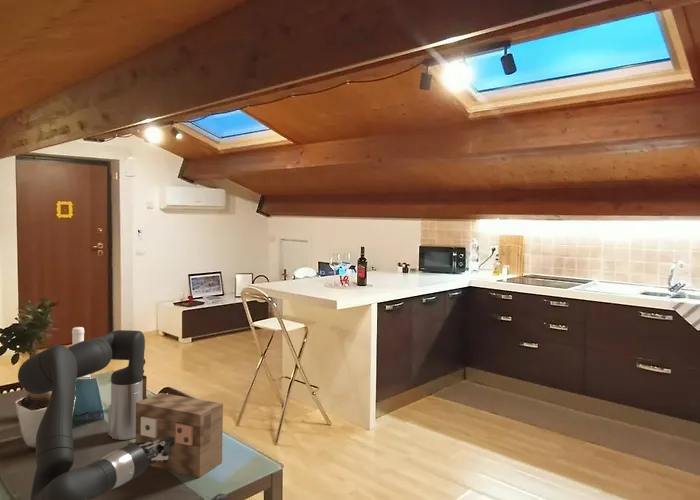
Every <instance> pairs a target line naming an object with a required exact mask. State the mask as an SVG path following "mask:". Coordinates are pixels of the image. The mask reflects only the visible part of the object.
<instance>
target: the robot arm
mask: <svg viewBox="0 0 700 500" xmlns="http://www.w3.org/2000/svg"><path fill="white" fill-rule="evenodd" d="M145 347H146V339H145V335H144V333H143V332H142V331H141V330H130V329H128V330H126V329H124V330H123V329H119V330H118V329H117V330H113V331H111V332H108V333H106V334H104V335H103V336H100V337H95V338H89V339H86V340H85V339H84V341H82V342H79V343H77V344H74V345H71V346H69V347H67V346H66V345H63V344H55V345H53V346H50V347H47V348H46V349H44V350H42V351H39V352H38V353H36V354H35V355H32V356H31V357H29V358H28V359H26V360H25V361H24V362H23V363H22V364H21V365H20V366H19V369H18V372H17V379H18V380H17V381H18V384H19V385H20V387H21V388H22V389H23V390H25V391H26V392H28V393H30V394H31V395H32V394H34V395H44V394H48V393H49V392H51V395H50V398H49V400H48V404H47V406H46V409H45V411H44V414H43V416H42V418H41V420H40V422H39V425H38V427H37V428H38V429H37V432H36V436H35V464H36V469H35V473H34V476H33V480H32V481H33V483H32V488H31V493H30V499H29V500H94V499H96V498H98V497H100V496H102V495H104V494H106V493H107V492H109V491H112V490H113V489H116V488H118V487H121V486H123V485H125V484H126V483H128V482H130V481H132V480H133V479H135V478H137V477H139V476H140V475H142V474H143V473H144V472H145V471H146V469H147V468H148V466H149V465H150V464H153V463H155V462H156V461H157V460H161V461H163V463H167V462H168V459H169V448H170V447H172V446H173V445H174V437H171V436H168V437H166V438H164V439H162V440H156V441H154V442H153V440H147V441H141V442H136V441H134V442H130V443H127V445H125V446H123V447H120V448H119V449H116V450H114V451H112V452H110V453H108V454H106V455H105V456H103V457H101V458H99V459H98V460H95V461H94V462H92V463H90V464H87V465H85V466H84V467H79V468H74V469H71V468H72V467H73V465H74V461H75V452H74V451H75V449H74V440H73V439H74V437H73V417H74V416H73V407H74V400H75V391H76V381H77V378H80V377H83V376H86V375H89V374H90V375H92V374H94V373H97V372H99V371H101V370H103V369H105V368H106V367H107V366H108V365H109V364H110V363H111V362H112V361H113V360H114V361H115V360H116V361H117V360H118V361H128V365H127V366H126V367H123V368H120V369H117V370H114V371H113V372H112V373H111V375H110V404H109V405H108V407H107V408H108V413H107V415H108V417H107V418H108V419H107V420H108V421H107V423H108V424H107V431H108V432H107V433H108V434H107V435H108V436H110V438H111V437H112V438H111V439H113V440H117V439H118V440H119V441H120V440H121V441H122V440H132V439H136V402H139V401H141V400H142V383H143V380H142V379H143V375H144V374H143V370H144V367H145V364H144V359H145ZM111 360H112V361H111ZM118 440H117V441H118ZM70 469H71V470H70Z"/></svg>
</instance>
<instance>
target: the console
mask: <svg viewBox="0 0 700 500" xmlns="http://www.w3.org/2000/svg"><path fill="white" fill-rule="evenodd" d="M142 416H149V417H154V418H158V437H156V438H153V437H148V436H143V435H141V417H142ZM223 419H224V403H221V402H215V401H210V400H204V399H200V398H199V399H198V398H194V397H187V396H182V395H181V396H180V395H178V394H177V395H176V394H170V393H164V392H160V393H157V394H154V395H152V396H149V397H147V398H146V399H144V400H141V401H139V402H136V437H135V442H141V441H147V440H153V442H154V441H156V440H162V439H164V438H166V437H168V436H171V437H174V445H173V446H172V447H170V448H169V459H168V462H167V463H163V461H161V460H157V461H156V462H155V463H153V464H150V465H148V466H150V467H152V468H153V467H154V468H158V469H162V470H166V471H170V472H174V473H178V474H183V475H188V476H192V477H196V478H199V479H201V478H202V477H203V476H204V475H206V474H207V473H209V472H210V471H212V470H214V469H215V468H217V467H218V466H219V465H221V464H222V463H223V430H224V429H223V426H224V425H223V424H224V423H223V422H224V420H223ZM177 423H185V424H190V425H194V435H193V445H191V446H190V445H185V444H181V443H176V442H175V440H176V424H177Z"/></svg>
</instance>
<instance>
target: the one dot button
mask: <svg viewBox="0 0 700 500" xmlns="http://www.w3.org/2000/svg"><path fill="white" fill-rule="evenodd" d="M141 435H143V436H148V437H153V438H156V437H158V418H154V417H149V416H142V417H141Z"/></svg>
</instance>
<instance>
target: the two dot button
mask: <svg viewBox="0 0 700 500" xmlns="http://www.w3.org/2000/svg"><path fill="white" fill-rule="evenodd" d="M193 435H194V425H190V424H185V423H177V424H176V440H175V442H176V443H181V444H185V445H190V446H191V445H193Z"/></svg>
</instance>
